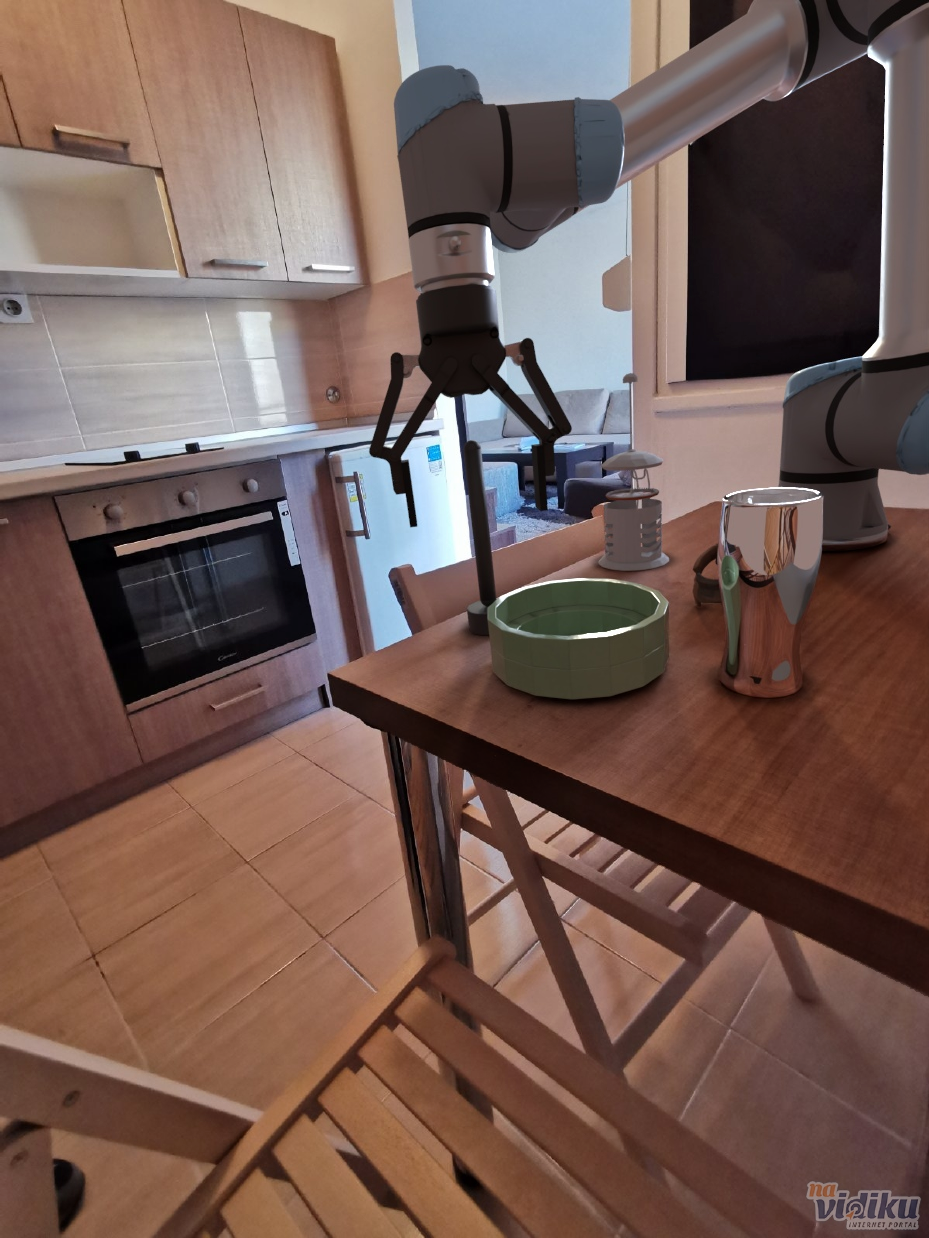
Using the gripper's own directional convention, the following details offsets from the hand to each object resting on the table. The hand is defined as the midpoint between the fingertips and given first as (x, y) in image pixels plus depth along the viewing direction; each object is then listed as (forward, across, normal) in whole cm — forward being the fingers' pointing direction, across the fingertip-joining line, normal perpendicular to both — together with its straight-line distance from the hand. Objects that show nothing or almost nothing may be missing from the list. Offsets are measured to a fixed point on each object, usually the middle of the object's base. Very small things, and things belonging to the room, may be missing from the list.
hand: (477, 517), depth 62 cm
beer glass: (+12, +20, -20) cm, 31 cm away
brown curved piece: (+12, +28, -3) cm, 30 cm away
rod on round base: (+12, 0, 0) cm, 13 cm away
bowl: (+12, +7, -13) cm, 19 cm away
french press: (+12, +24, +19) cm, 33 cm away
